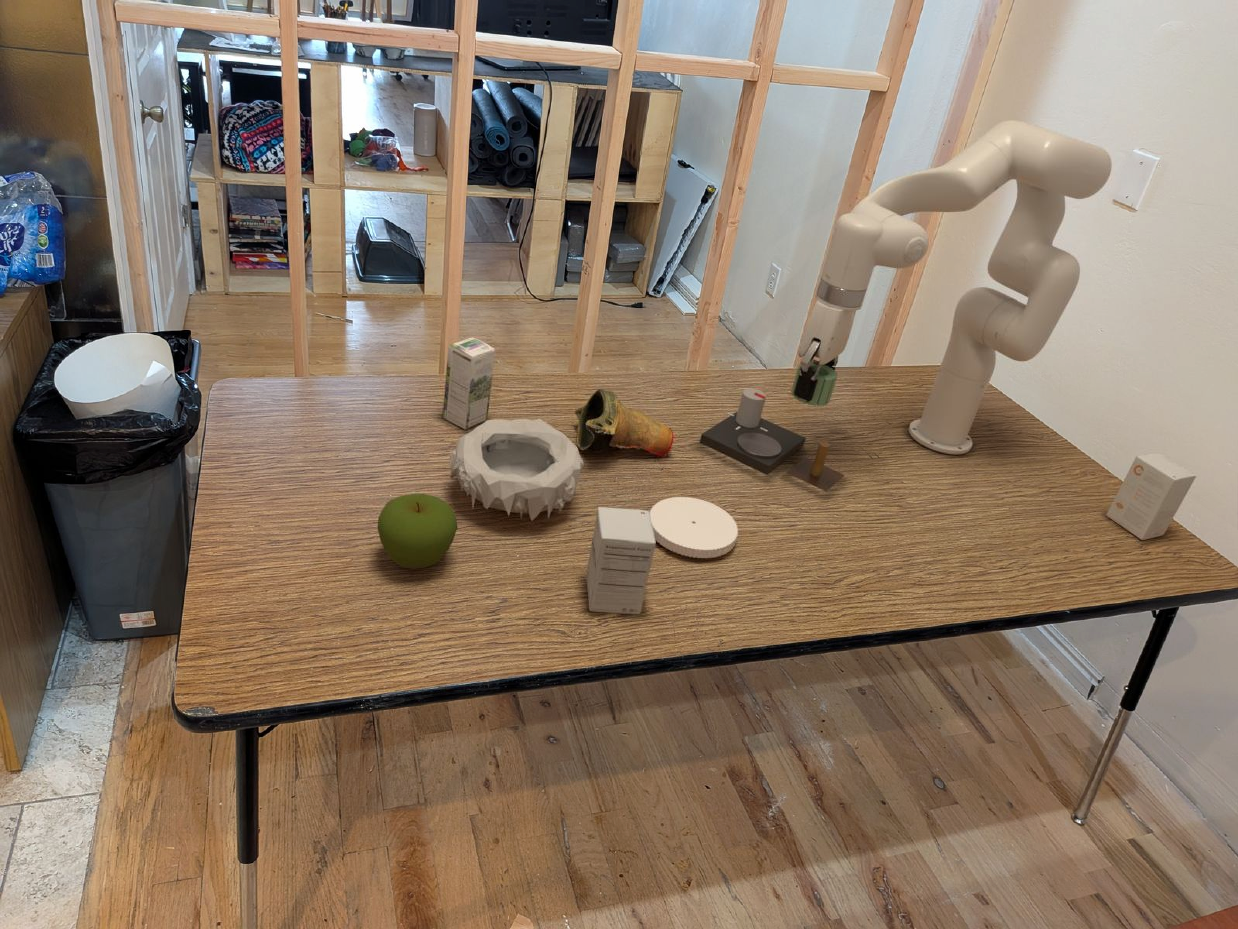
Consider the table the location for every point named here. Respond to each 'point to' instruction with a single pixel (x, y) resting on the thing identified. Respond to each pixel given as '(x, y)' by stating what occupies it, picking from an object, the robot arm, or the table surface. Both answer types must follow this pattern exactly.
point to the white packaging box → (620, 560)
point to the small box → (1150, 495)
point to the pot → (619, 427)
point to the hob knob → (750, 408)
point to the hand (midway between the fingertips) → (811, 390)
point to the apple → (416, 529)
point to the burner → (759, 445)
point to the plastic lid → (693, 527)
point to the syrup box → (468, 382)
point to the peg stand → (816, 470)
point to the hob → (729, 431)
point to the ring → (819, 386)
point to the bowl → (517, 466)
